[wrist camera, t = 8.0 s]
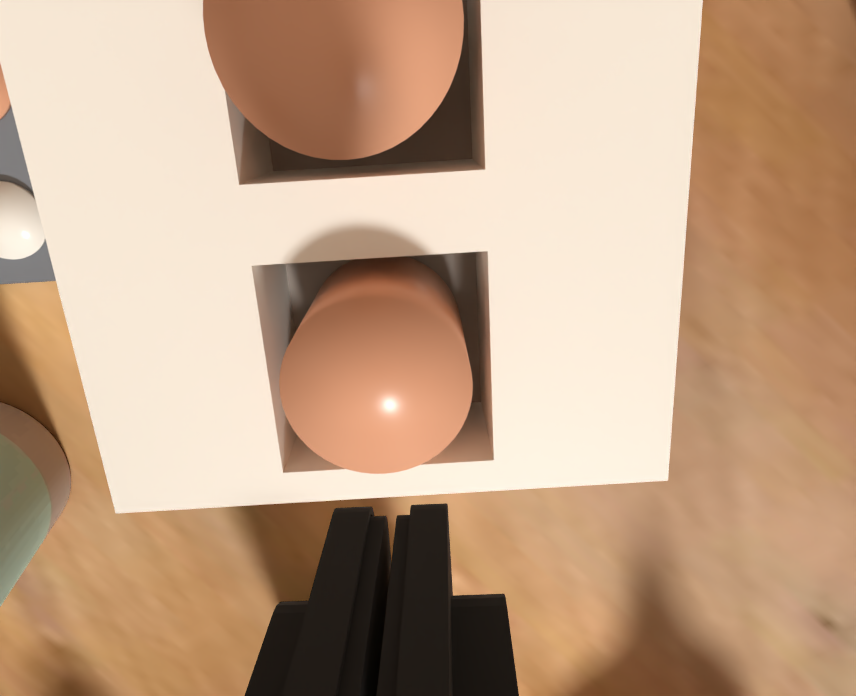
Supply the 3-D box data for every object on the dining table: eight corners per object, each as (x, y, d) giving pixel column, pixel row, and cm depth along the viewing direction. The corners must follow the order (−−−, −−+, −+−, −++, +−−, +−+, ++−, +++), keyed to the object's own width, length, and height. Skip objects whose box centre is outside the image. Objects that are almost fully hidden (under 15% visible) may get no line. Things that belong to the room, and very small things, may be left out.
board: (656, -513, 16) (759, -784, 11) (617, 407, 24) (667, 480, 19) (-14, -467, 16) (-199, -716, 11) (175, 434, 24) (115, 513, 19)
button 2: (446, -64, 16) (458, -138, 11) (455, 142, 18) (468, 152, 13) (249, -51, 16) (180, -120, 11) (277, 153, 18) (225, 167, 13)
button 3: (457, 248, 20) (469, 289, 16) (463, 391, 22) (475, 468, 17) (301, 258, 20) (266, 302, 16) (319, 400, 22) (292, 479, 17)
